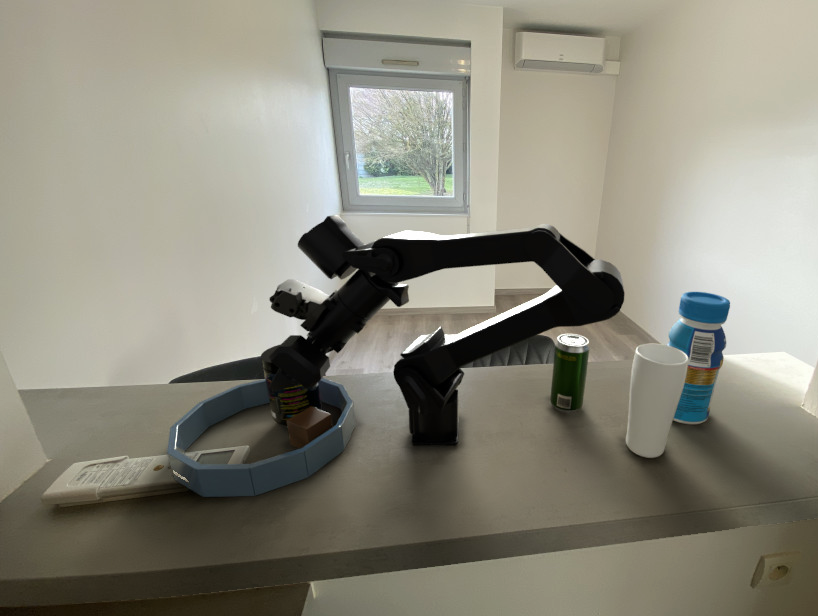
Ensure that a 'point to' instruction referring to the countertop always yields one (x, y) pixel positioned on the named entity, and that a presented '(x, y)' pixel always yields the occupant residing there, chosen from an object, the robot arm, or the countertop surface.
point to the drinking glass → (654, 397)
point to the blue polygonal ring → (262, 473)
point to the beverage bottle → (699, 351)
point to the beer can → (569, 372)
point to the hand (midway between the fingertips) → (284, 375)
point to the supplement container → (287, 394)
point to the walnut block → (308, 426)
